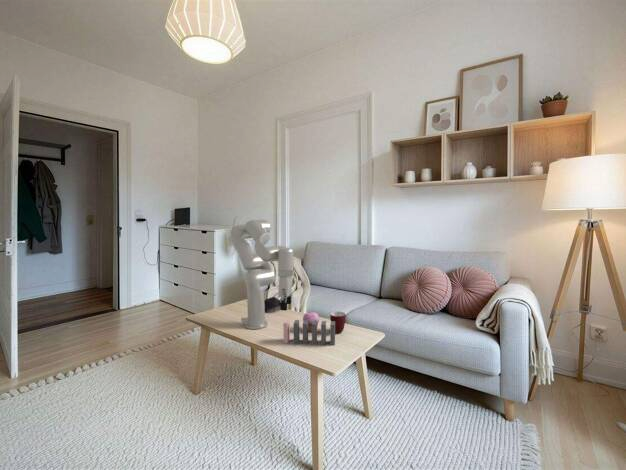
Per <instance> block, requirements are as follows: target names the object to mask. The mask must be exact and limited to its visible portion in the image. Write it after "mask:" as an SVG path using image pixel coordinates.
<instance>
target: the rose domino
mask: <svg viewBox="0 0 626 470" xmlns="http://www.w3.org/2000/svg"><path fill="white" fill-rule="evenodd" d="M290 323H291V322H290V319H285V320H284V321H283V323H282V324H283V325H282V327H283V331H282V332H283V344H289V341H290V339H291V337H290V336H291V334H290V332H291V331H290V326H291V325H290Z"/></svg>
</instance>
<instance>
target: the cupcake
mask: <svg viewBox="0 0 626 470" xmlns="http://www.w3.org/2000/svg"><path fill="white" fill-rule="evenodd" d="M304 320H308V333H312V322H313V321H317V327H318V325H319V322H320V316H319V314H318V313H317V312H315V311H312V312H311V311H308V312H305V314H304V315H303V316H302V321H303V322H304Z"/></svg>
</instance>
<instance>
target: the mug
mask: <svg viewBox="0 0 626 470" xmlns="http://www.w3.org/2000/svg"><path fill="white" fill-rule="evenodd" d="M346 316H347V315H346V313H345V312H343V311H331V312H330V317H329V319H330V322H331V321H335V334H338V335H339V334H341V333H342V332H343V331H344V328H345V324H346V322H347V321H346Z"/></svg>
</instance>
